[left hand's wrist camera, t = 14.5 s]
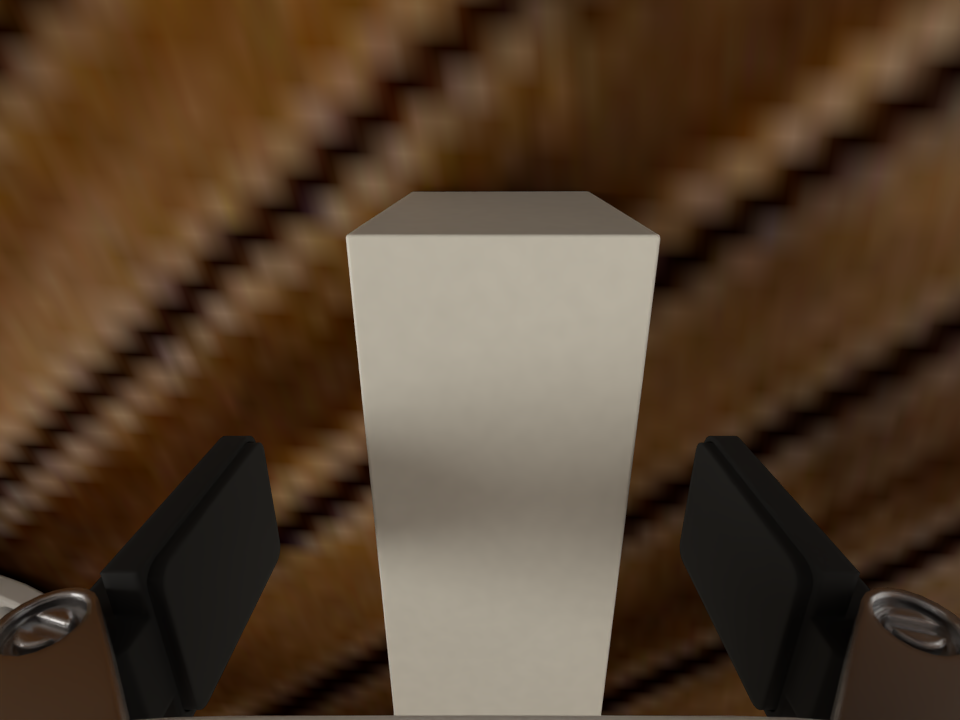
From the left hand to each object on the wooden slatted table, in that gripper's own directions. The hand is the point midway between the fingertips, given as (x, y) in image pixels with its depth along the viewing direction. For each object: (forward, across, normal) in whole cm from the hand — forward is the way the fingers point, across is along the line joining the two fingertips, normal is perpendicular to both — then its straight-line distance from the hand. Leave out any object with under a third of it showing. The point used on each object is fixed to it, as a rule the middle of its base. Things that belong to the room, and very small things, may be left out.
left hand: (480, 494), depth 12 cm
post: (+9, +1, -32) cm, 33 cm away
